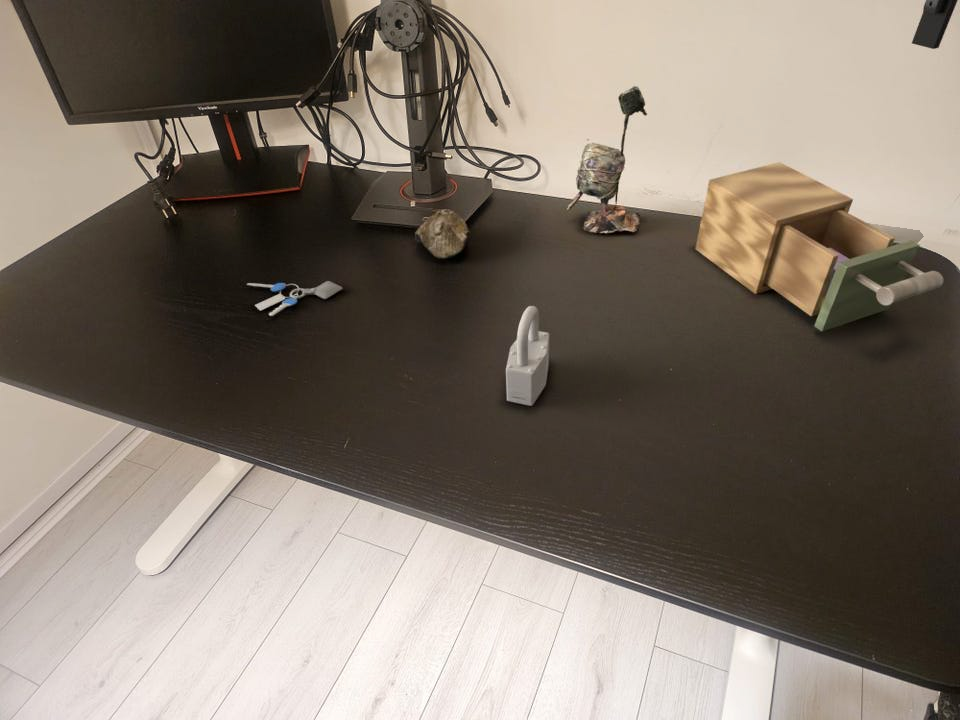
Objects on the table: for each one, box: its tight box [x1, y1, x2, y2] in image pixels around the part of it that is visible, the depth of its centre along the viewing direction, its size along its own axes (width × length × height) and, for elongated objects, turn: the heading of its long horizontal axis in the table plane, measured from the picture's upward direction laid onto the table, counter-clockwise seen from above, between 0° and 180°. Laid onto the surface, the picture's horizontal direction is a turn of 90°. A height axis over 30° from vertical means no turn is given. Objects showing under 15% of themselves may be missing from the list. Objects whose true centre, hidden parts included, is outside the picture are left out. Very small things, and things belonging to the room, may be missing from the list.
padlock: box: [505, 305, 550, 407], centre depth 66 cm, size 7×4×10 cm, turn 161°
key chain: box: [246, 280, 343, 317], centre depth 83 cm, size 14×8×1 cm, turn 88°
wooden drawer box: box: [694, 161, 854, 295], centre depth 82 cm, size 13×12×11 cm
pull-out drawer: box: [764, 209, 944, 332], centre depth 72 cm, size 16×10×9 cm, turn 22°
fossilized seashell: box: [414, 209, 471, 260], centre depth 91 cm, size 8×7×10 cm
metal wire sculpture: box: [567, 85, 648, 234], centre depth 89 cm, size 8×11×20 cm
